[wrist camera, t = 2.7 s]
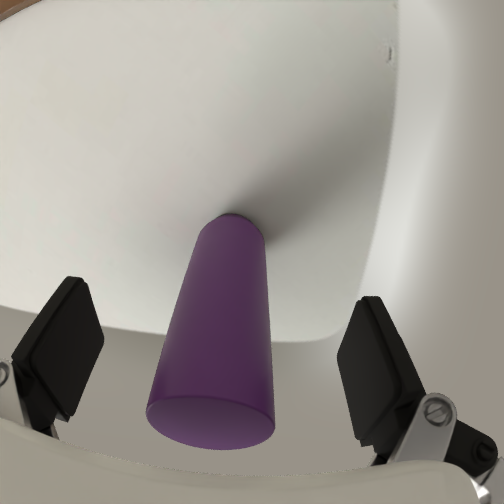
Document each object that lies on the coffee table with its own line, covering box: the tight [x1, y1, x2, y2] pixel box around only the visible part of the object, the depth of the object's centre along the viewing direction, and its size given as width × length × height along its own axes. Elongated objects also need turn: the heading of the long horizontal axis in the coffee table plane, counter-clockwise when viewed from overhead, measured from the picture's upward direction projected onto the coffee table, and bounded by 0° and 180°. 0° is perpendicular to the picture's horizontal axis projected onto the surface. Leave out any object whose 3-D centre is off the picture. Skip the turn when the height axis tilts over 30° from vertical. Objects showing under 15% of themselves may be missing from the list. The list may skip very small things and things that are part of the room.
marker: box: [146, 214, 275, 450], centre depth 11 cm, size 3×3×10 cm
